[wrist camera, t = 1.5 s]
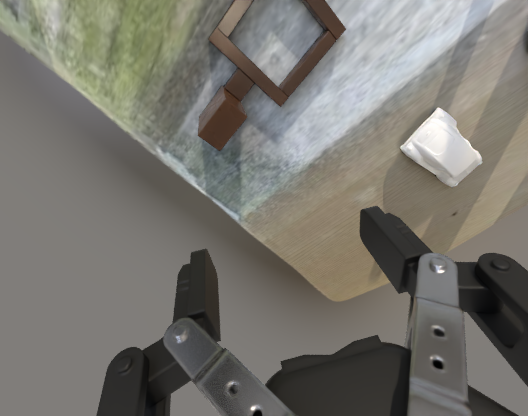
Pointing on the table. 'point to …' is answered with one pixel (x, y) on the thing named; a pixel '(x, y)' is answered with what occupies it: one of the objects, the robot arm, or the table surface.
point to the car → (442, 149)
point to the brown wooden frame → (257, 72)
